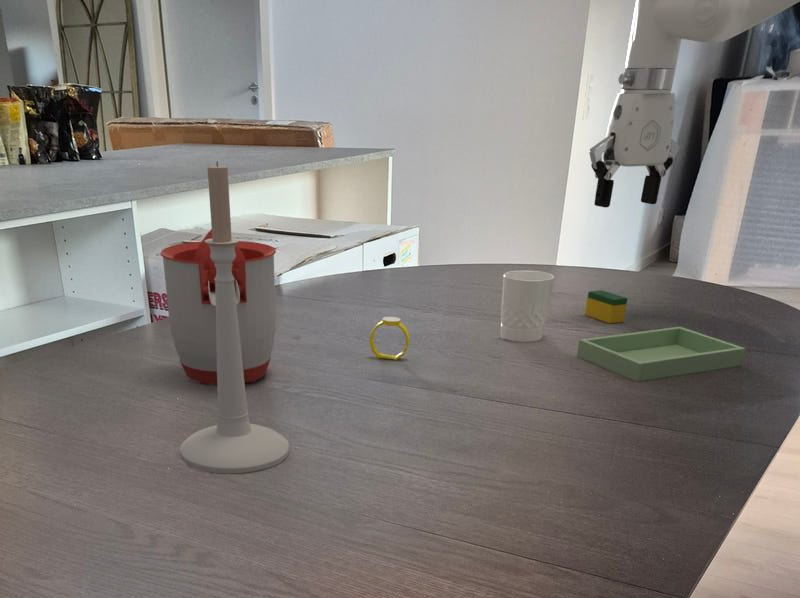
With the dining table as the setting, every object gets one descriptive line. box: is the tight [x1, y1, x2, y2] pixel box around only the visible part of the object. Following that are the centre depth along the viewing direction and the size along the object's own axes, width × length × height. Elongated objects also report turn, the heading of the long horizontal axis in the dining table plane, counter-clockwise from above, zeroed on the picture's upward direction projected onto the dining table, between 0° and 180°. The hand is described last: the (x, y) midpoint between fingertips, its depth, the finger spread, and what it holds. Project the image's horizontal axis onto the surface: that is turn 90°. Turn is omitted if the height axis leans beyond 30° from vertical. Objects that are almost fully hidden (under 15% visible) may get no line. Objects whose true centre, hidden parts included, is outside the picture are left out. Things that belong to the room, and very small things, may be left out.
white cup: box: [499, 269, 555, 343], centre depth 137 cm, size 8×8×10 cm
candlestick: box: [179, 160, 290, 474], centre depth 91 cm, size 13×13×30 cm
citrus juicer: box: [160, 228, 277, 386], centre depth 118 cm, size 16×17×20 cm
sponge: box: [584, 289, 628, 324], centre depth 151 cm, size 3×7×4 cm, turn 23°
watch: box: [369, 316, 410, 361], centre depth 130 cm, size 6×3×6 cm, turn 77°
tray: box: [576, 326, 746, 383], centre depth 128 cm, size 20×14×3 cm
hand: (625, 204), depth 142 cm, fingers open, 9 cm apart
